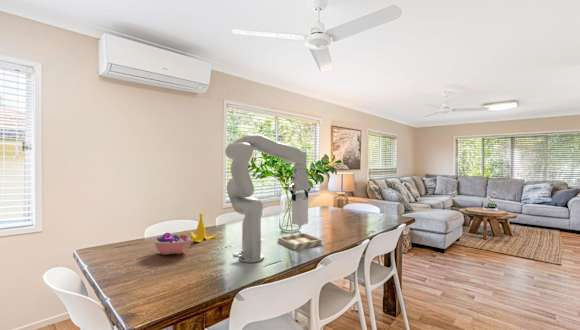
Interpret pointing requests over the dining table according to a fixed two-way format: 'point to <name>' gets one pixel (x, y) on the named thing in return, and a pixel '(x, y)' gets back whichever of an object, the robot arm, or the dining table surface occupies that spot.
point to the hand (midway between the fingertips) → (300, 199)
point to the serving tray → (299, 241)
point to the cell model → (172, 243)
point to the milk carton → (300, 209)
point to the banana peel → (201, 232)
